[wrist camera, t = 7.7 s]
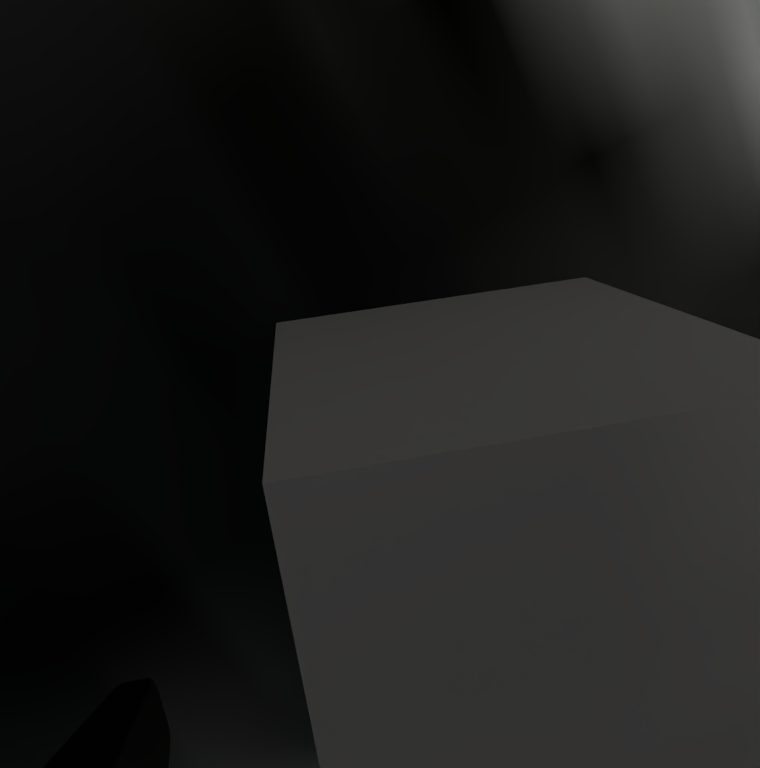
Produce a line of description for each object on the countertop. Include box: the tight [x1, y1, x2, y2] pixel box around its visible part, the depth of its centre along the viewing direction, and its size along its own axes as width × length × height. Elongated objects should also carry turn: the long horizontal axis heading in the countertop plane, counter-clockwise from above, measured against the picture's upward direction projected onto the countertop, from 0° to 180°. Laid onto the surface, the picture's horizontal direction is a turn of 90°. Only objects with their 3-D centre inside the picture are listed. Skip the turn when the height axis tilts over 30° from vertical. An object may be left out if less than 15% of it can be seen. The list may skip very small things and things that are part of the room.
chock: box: [262, 277, 760, 768], centre depth 8 cm, size 5×8×5 cm, turn 7°
